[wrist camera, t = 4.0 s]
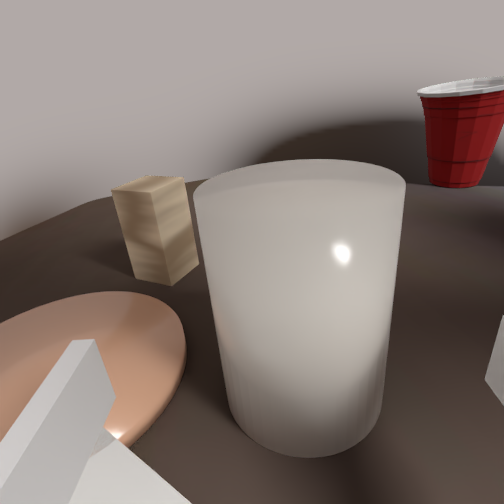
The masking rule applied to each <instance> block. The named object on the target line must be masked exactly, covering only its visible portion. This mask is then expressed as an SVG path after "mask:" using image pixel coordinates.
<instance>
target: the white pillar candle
mask: <svg viewBox="0 0 504 504" xmlns="http://www.w3.org/2000/svg"><path fill="white" fill-rule="evenodd" d="M405 188H406V184H405V181H404V179H403V178H402V177H401V176H400V175H399V174H397V173H396V172H394V171H392V170H389V169H387V168H384V167H381V166H377V165H373V164H368V163H363V162H356V161H346V160H332V159H328V160H327V159H306V160H289V161H280V162H271V163H264V164H258V165H252V166H248V167H243V168H240V169H235V170H232V171H228V172H226V173H223V174H220V175H218V176H215V177H213V178H211V179H209V180H207V181H205V182H204V183H202V184H201V185H200V186H199V187H198V188H197V189H196V190H195V192H194V194H193V198H194V205H195V210H196V216H197V222H198V228H199V234H200V240H201V246H202V251H203V257H204V263H205V269H206V275H207V281H208V287H209V292H210V298H211V304H212V310H213V316H214V322H215V328H216V333H217V339H218V345H219V351H220V357H221V363H222V369H223V375H224V380H225V386H226V392H227V398H228V404H229V407H230V411H231V413H232V415H233V417H234V419H235V421H236V422H237V424H238V425H239V427H240V428H241V429H242V430H243V431H244V432H245V434H246V435H247V436H249V437H250V438H251V439H252V440H254V441H255V442H256V443H258V444H260V445H261V446H263V447H265V448H267V449H269V450H271V451H274V452H276V453H280V454H283V455H286V456H292V457H298V458H317V457H325V456H330V455H334V454H337V453H340V452H343V451H345V450H347V449H349V448H351V447H353V446H354V445H356V444H357V443H359V442H360V441H361V440H363V439H364V438H365V437H366V436H367V435H368V434H369V433H370V431H371V430H372V429H373V427H374V426H375V424H376V422H377V420H378V417H379V415H380V411H381V407H382V398H383V389H384V380H385V371H386V362H387V352H388V343H389V334H390V325H391V316H392V307H393V298H394V288H395V279H396V270H397V261H398V252H399V243H400V234H401V225H402V215H403V206H404V197H405Z"/></svg>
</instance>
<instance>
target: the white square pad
mask: <svg viewBox="0 0 504 504" xmlns="http://www.w3.org/2000/svg"><path fill="white" fill-rule="evenodd" d="M105 430H106V429H105V428H103V429H102V430H101V432H100V433H102V434H103V435H102V434H100V435H99V437H98V441H96V442H97V443H98V442H99V441H100V442H99V443H98V444H97V443H96V444H95V446H94V447H95V448H96V449H95V448H93V449H94V450H92V451H93V452H92V453H91V455H90V458H89V459H88V462H87V464H86V466H85V468H84V471H83V473H82V475H81V477H80V480H79V482H78V484H77V486H76V489H75V491H74V493H73V495H72V498H71V500H70V502H69V504H191V503H190V502H189V501H188V500H187V499H186V498H185V497H183V496H182V495H181V494H180V493H179V492H178V491H176V490H175V489H174V488H173V487H172V486H171V485H170V484H168V483H167V482H166V481H165V480H164V479H163V478H161V477H160V476H159V475H158V474H157V473H156V472H155V471H153V470H152V469H151V468H150V467H149V466H148V465H146V464H145V463H144V462H143V461H142V460H141V459H140V458H138V457H137V456H136V455H135V454H134V453H133V452H131V451H130V450H129V449H128V448H127V447H126V446H125V445H123V444H122V443H121V442H120V441H119V440H118V439H116V438H115V437H113V435H112V434H111V435H110V432H106V431H107V430H106V431H105ZM105 432H106V433H105ZM107 433H108V434H107ZM105 434H106V435H105ZM100 436H101V438H100ZM103 436H104V438H103ZM105 436H106V437H107V438H106V437H105ZM110 436H111V437H110ZM112 438H113V439H114V440H113V439H112ZM104 440H105V441H104ZM107 440H108V441H107ZM109 440H110V441H109ZM111 440H112V441H111ZM101 441H104V442H103V443H102V442H101ZM111 442H112V443H111ZM105 443H106V444H105ZM109 443H111V444H109ZM100 444H102V447H103V445H104V447H103V448H102V447H100V446H101V445H100ZM108 444H109V445H108ZM99 445H100V446H99ZM105 445H107V446H105ZM97 446H99V447H97ZM97 449H98V450H99V452H97ZM95 450H96V451H95ZM100 450H101V451H100ZM92 454H93V456H92Z"/></svg>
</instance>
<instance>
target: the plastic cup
mask: <svg viewBox="0 0 504 504" xmlns="http://www.w3.org/2000/svg"><path fill="white" fill-rule="evenodd" d="M417 94H418V96H420V99H421V101H422V106H423V109H424V115H425V126H426V145H427V157H428V173H429V179H430V182H431V183H432V184H434V185H438V186H442V187H450V188H464V187H471V186H475V185H477V184H478V183H479V180H480V179H481V178H482V175H483V173H484V170H485V167H486V165H487V162H488V160H489V158H490V157H491V155H492V152H493V150H494V147H495V144H496V142H497V139H498V137H499V134H500V131H501V129H502V126H503V124H504V76H500V77H487V78H476V79H468V80H462V81H454V82H448V83H443V84H438V85H433V86H429V87H425V88H422V89H420V90H418V91H417Z"/></svg>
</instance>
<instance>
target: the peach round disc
mask: <svg viewBox="0 0 504 504" xmlns="http://www.w3.org/2000/svg"><path fill="white" fill-rule="evenodd" d="M84 339H95V342H96V344H97V347H98V350H99V352H100V355H101V358H102V360H103V363H104V366H105V369H106V371H107V374H108V377H109V379H110V382H111V385H112V387H113V390H114V393H115V395H116V399H115V401H114V403H113V405H112V408H111V410H110V412H109V414H108V417H107V419H106V421H105V423H104V426H103V428H105V429H106V430H107V431H106V430H105V431H106V432H110V435H111V434H112V435H113V437H115V438H116V439H118V440H119V441H120V442H121V443H122V444H123V445H125V446H126V447H127V448H129V447H130V446H132V445H133V444H134V443H135V442H136V441H137V440H138V439H139V438H140V437H141V436H142V435H143V434H144V433H145V432H146V431H147V430H148V429H149V428H150V427H151V426H152V425H153V423H154V422H155V421H156V420H157V419H158V417H159V416H160V415H161V414H162V413H163V411H164V410H165V408H166V407H167V405H168V404H169V402H170V401H171V399H172V398H173V396H174V394H175V392H176V390H177V388H178V386H179V384H180V382H181V379H182V376H183V373H184V370H185V365H186V360H187V345H186V340H185V336H184V331H183V327H182V324H181V322H180V319H179V317H178V316H177V314H176V313H175V312H174V311H173V309H171V308H170V307H169V306H168V305H167V304H165V303H164V302H162V301H160V300H158V299H156V298H153V297H151V296H148V295H144V294H140V293H134V292H123V291H108V292H96V293H89V294H83V295H78V296H73V297H69V298H65V299H61V300H57V301H54V302H51V303H48V304H45V305H42V306H39V307H36V308H34V309H31V310H29V311H26V312H24V313H21V314H19V315H17V316H15V317H13V318H10V319H8V320H6V321H4V322H2V323H0V442H1V441H2V439H3V438H4V437H5V435H6V434H7V432H8V431H9V429H10V428H11V427H12V425H13V424H14V422H15V421H16V419H17V418H18V417H19V415H20V414H21V412H22V411H23V410H24V408H25V407H26V405H27V404H28V402H29V401H30V400H31V398H32V397H33V395H34V394H35V392H36V391H37V390H38V388H39V387H40V385H41V384H42V383H43V381H44V380H45V378H46V377H47V375H48V374H49V373H50V371H51V370H52V368H53V367H54V365H55V364H56V363H57V361H58V360H59V358H60V357H61V356H62V354H63V353H64V351H65V350H66V348H67V347H68V346H69V344H70V343H71V341H72V340H84ZM103 428H102V429H103ZM106 432H105V433H106ZM100 434H102V433H100ZM107 434H108V433H107ZM102 435H103V434H102ZM105 435H106V434H105ZM105 437H106V436H105ZM110 437H111V436H110ZM100 438H101V436H100ZM103 438H104V436H103ZM106 438H107V437H106ZM112 439H113V438H112ZM113 440H114V439H113ZM97 441H98V439H97ZM104 441H105V440H104ZM104 441H101V442H102V443H103V442H104ZM107 441H108V440H107ZM109 441H110V440H109ZM111 441H112V440H111ZM99 442H100V441H99ZM99 442H98V443H99ZM96 443H97V442H96ZM98 443H97V444H98ZM111 443H112V442H111ZM111 443H109V444H111ZM105 444H106V443H105ZM109 444H108V445H109ZM100 445H101V446H100ZM100 445H99V446H100V447H102V444H100ZM99 446H97V447H99ZM105 446H107V445H105ZM103 447H104V445H103ZM103 447H102V448H103ZM94 448H95V447H94ZM95 449H96V448H95ZM93 450H94V449H93ZM95 451H96V450H95ZM100 451H101V450H100ZM92 452H93V451H92ZM97 452H99V450H98V449H97ZM92 456H93V454H92ZM89 458H90V457H89Z"/></svg>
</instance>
